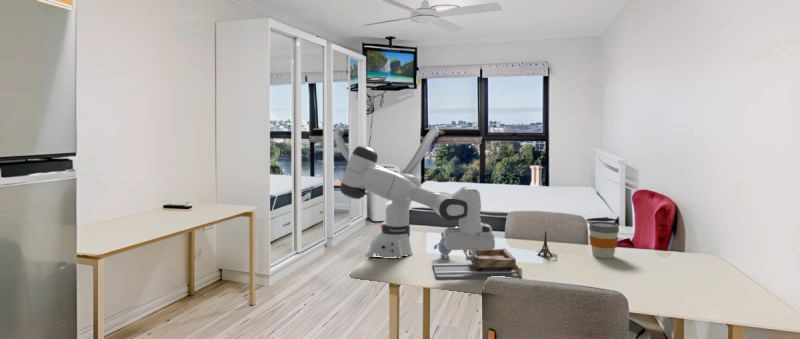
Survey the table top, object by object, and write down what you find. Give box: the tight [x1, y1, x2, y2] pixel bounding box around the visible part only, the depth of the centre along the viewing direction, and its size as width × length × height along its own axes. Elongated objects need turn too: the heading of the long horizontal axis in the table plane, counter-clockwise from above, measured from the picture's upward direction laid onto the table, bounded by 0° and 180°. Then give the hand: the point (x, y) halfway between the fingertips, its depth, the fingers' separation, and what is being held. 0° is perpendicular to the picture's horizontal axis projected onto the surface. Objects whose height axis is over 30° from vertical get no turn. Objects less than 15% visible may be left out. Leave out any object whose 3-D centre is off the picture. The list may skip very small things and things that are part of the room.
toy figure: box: [433, 232, 452, 259], centre depth 199 cm, size 11×6×12 cm, turn 77°
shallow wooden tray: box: [468, 248, 517, 272], centre depth 179 cm, size 16×16×6 cm
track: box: [431, 262, 523, 280], centre depth 179 cm, size 34×18×4 cm, turn 91°
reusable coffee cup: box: [588, 221, 620, 259], centre depth 200 cm, size 13×12×15 cm
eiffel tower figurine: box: [536, 230, 558, 262], centre depth 200 cm, size 15×10×13 cm
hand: (469, 259), depth 177 cm, fingers closed
